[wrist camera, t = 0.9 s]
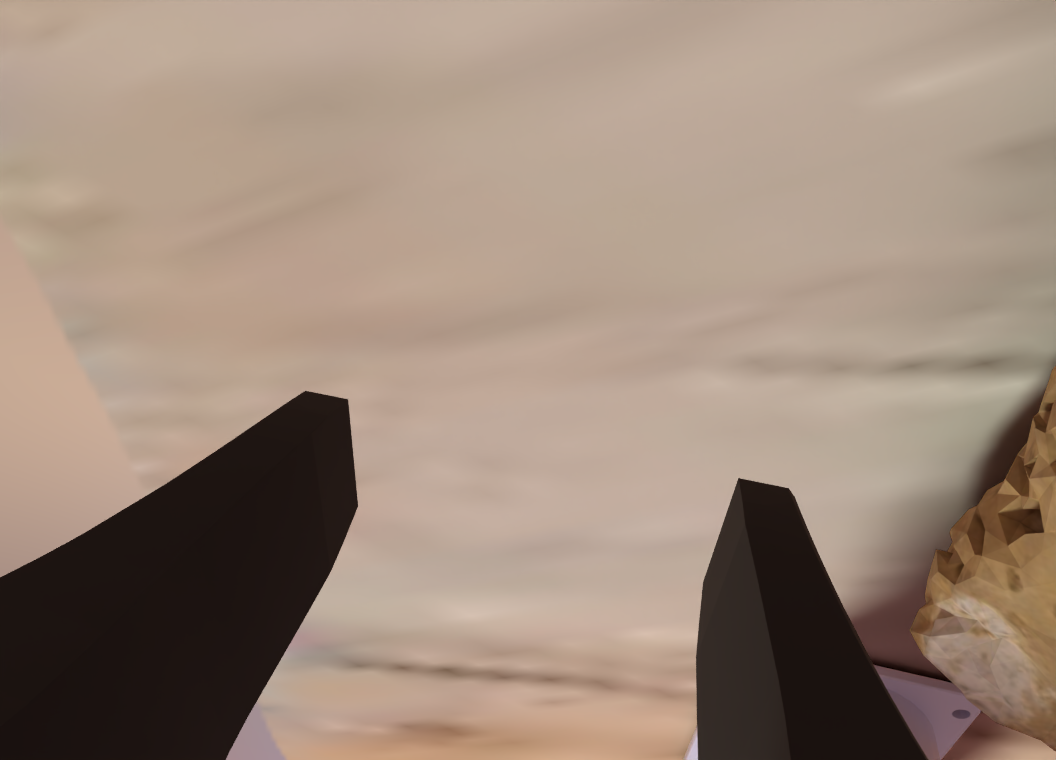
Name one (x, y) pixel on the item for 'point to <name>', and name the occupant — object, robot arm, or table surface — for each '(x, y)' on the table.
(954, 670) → the brown oblong lump
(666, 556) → the table surface
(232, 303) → the table surface
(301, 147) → the table surface
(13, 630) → the robot arm
